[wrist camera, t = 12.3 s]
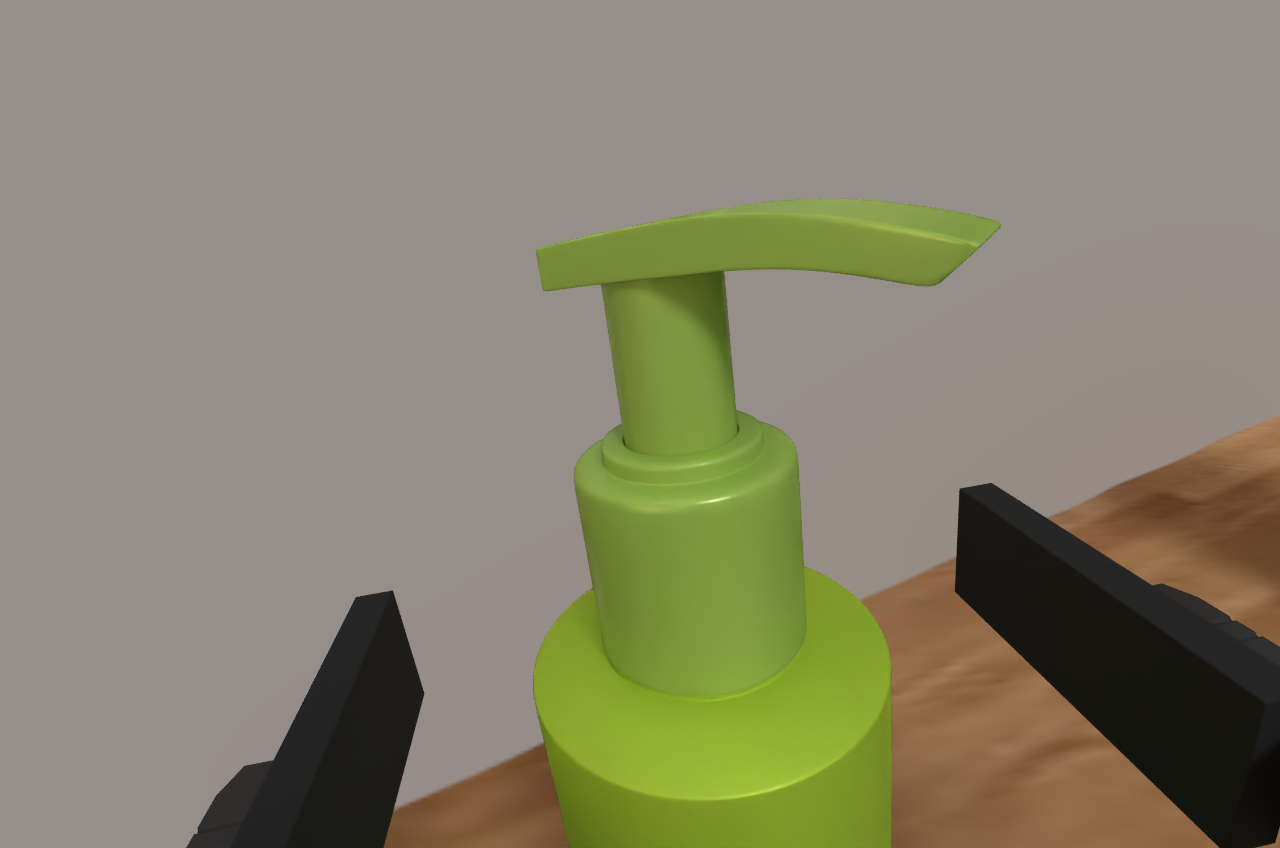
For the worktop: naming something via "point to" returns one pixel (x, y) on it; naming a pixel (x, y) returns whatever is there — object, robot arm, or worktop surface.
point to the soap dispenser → (718, 556)
